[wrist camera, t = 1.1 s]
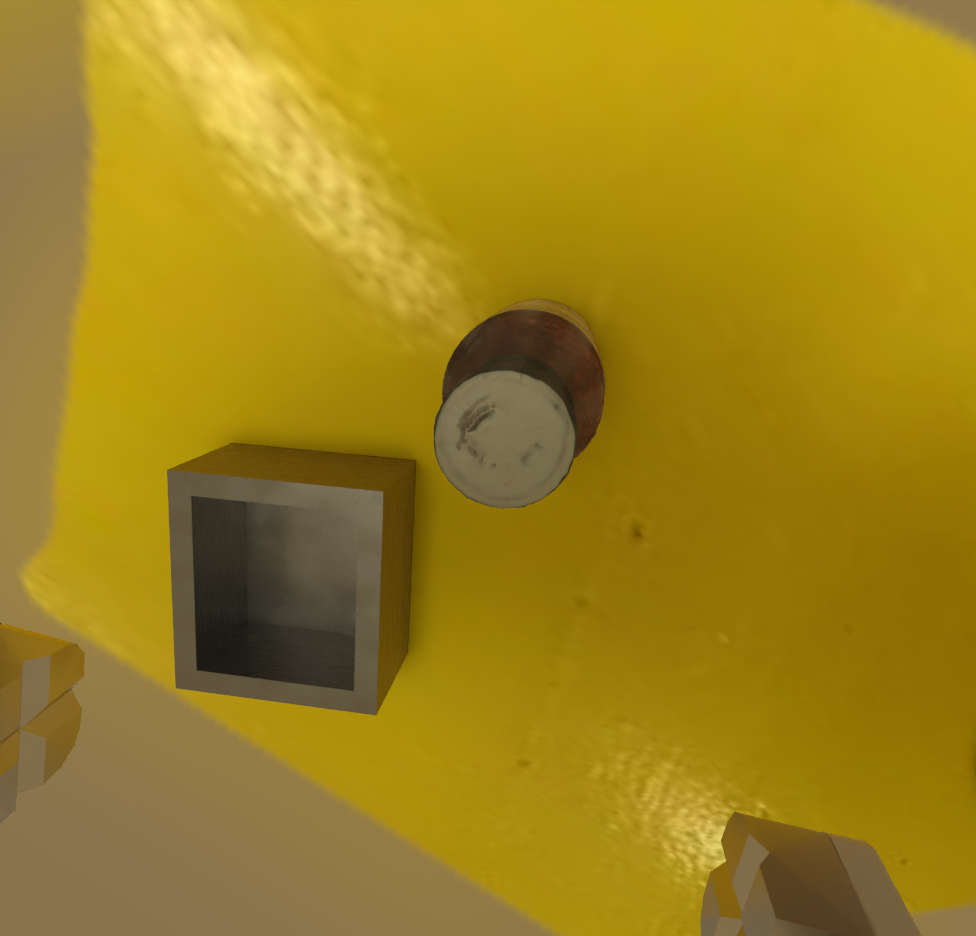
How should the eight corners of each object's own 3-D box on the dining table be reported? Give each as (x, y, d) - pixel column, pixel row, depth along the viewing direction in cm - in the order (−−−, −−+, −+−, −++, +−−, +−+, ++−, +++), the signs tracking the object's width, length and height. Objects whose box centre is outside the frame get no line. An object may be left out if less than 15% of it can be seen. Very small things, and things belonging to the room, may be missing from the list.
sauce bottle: (468, 317, 39) (353, 339, 20) (582, 283, 38) (576, 272, 19) (501, 434, 40) (423, 560, 21) (613, 405, 39) (636, 510, 20)
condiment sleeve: (416, 460, 41) (383, 491, 35) (407, 652, 44) (376, 715, 38) (231, 443, 43) (167, 469, 36) (235, 631, 46) (176, 687, 39)
